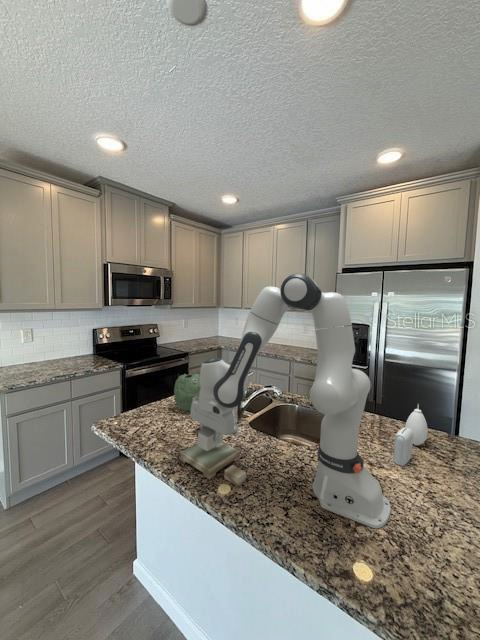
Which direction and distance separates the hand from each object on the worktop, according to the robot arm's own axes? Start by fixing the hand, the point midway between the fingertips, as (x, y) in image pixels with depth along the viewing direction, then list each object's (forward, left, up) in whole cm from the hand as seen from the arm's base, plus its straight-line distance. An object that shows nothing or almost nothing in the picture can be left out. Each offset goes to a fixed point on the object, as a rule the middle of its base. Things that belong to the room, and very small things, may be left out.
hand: (210, 437), depth 101 cm
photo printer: (-55, -50, -9) cm, 75 cm away
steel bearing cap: (+8, -21, -9) cm, 24 cm away
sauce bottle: (-57, -67, -9) cm, 88 cm away
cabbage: (+40, -23, -9) cm, 47 cm away
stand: (0, 0, -8) cm, 8 cm away
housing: (0, 0, -3) cm, 3 cm away
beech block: (-14, +2, -9) cm, 17 cm away
